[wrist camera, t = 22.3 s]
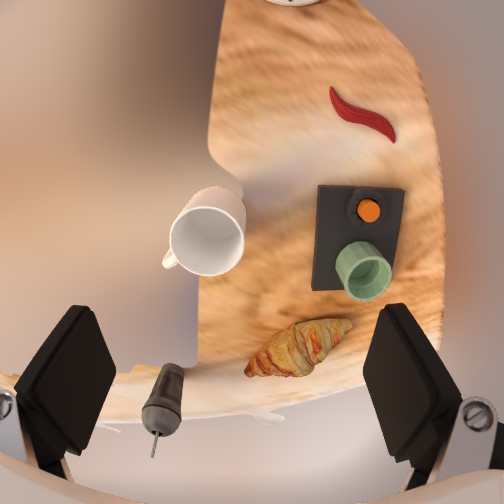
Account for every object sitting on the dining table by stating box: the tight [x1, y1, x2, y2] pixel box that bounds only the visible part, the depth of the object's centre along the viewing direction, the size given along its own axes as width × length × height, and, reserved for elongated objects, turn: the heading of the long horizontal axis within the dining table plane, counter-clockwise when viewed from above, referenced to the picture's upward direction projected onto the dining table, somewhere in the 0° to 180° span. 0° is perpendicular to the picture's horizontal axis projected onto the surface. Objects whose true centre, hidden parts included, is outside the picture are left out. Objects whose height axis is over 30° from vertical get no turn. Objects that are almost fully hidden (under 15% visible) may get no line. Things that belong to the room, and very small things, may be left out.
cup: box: [162, 186, 246, 276], centre depth 37 cm, size 8×12×10 cm
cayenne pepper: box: [330, 87, 395, 143], centre depth 34 cm, size 12×5×2 cm, turn 50°
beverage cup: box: [142, 363, 184, 458], centre depth 45 cm, size 7×7×20 cm
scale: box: [311, 185, 405, 291], centre depth 41 cm, size 16×13×3 cm
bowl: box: [335, 241, 392, 302], centre depth 40 cm, size 7×7×6 cm
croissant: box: [244, 318, 353, 378], centre depth 48 cm, size 21×10×8 cm, turn 123°
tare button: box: [358, 199, 380, 222], centre depth 37 cm, size 3×3×2 cm
